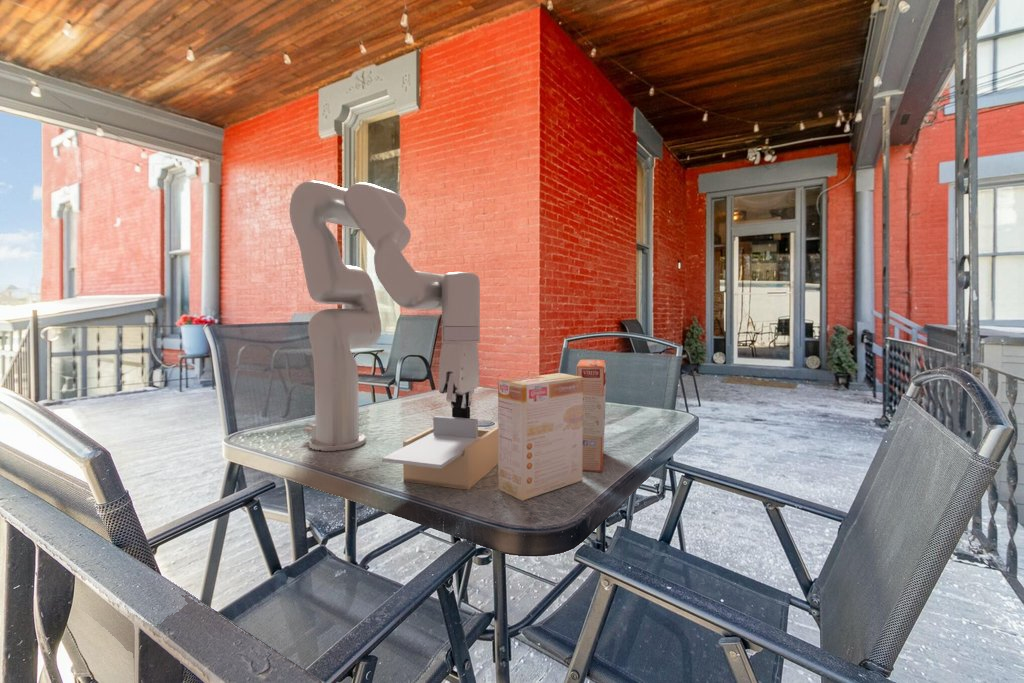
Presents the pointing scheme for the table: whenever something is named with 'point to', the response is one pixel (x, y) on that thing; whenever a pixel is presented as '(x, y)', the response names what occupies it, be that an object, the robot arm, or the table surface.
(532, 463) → the coffeecake box
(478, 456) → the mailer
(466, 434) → the lid
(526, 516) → the table surface
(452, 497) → the table surface
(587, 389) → the cracker box
